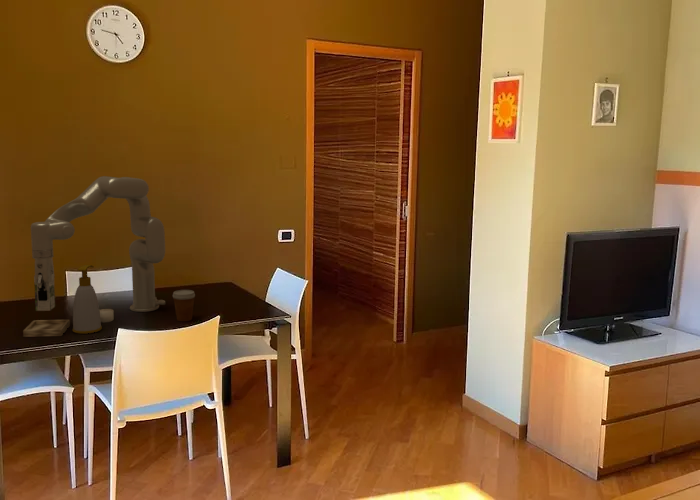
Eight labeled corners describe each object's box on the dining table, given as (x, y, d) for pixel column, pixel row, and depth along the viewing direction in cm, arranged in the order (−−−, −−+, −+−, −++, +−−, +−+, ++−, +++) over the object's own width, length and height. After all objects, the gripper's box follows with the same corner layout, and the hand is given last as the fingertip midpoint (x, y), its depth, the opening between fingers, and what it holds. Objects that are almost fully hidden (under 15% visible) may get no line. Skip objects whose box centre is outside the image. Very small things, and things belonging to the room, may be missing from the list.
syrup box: (40, 307, 272) (38, 271, 270) (55, 307, 273) (54, 271, 270) (35, 311, 267) (33, 274, 264) (50, 311, 267) (48, 275, 265)
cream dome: (115, 317, 292) (114, 308, 291) (112, 322, 285) (111, 313, 285) (97, 318, 291) (97, 309, 290) (94, 322, 284) (94, 313, 283)
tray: (70, 325, 279) (69, 319, 279) (61, 335, 266) (61, 329, 265) (33, 326, 277) (33, 320, 277) (23, 336, 263) (23, 330, 263)
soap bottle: (107, 327, 278) (105, 264, 274) (92, 335, 267) (89, 270, 262) (82, 325, 280) (79, 262, 275) (66, 333, 269) (62, 268, 264)
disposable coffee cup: (184, 323, 285) (183, 296, 283) (168, 320, 290) (167, 292, 288) (200, 318, 293) (200, 291, 291) (184, 315, 298) (184, 288, 296)
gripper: (47, 257, 258) (49, 303, 261) (58, 249, 275) (60, 293, 278) (26, 257, 257) (28, 304, 260) (38, 249, 273) (41, 293, 277)
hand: (45, 297), depth 269 cm, fingers closed on syrup box, 5 cm apart
